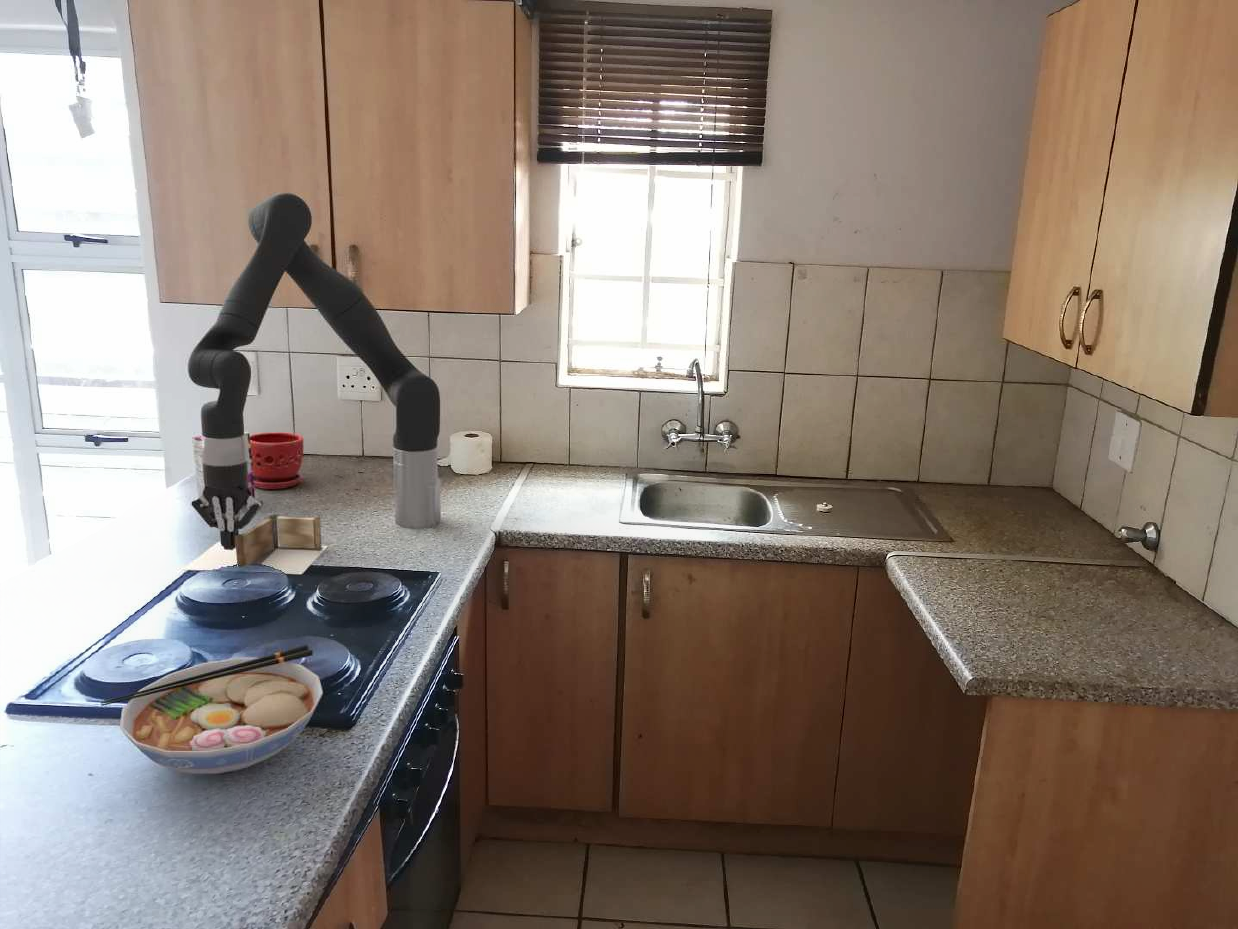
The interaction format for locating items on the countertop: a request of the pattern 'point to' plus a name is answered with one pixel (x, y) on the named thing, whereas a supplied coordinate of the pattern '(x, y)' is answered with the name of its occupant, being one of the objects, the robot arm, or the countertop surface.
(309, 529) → the fence fixed
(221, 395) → the robot arm
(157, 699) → the ramen bowl
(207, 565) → the card
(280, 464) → the plant pot
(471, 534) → the countertop surface
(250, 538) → the fence hinged panel
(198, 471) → the candy bar box
